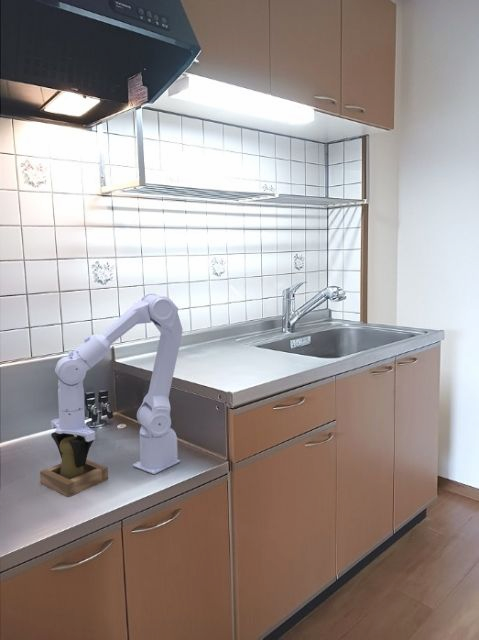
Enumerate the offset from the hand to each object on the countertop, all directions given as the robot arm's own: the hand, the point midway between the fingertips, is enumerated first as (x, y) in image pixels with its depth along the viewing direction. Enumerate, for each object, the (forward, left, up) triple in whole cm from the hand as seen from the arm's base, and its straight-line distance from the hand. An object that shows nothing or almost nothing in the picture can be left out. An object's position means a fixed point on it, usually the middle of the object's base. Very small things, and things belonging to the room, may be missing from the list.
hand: (73, 463), depth 119 cm
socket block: (0, 0, -5) cm, 5 cm away
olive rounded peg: (0, 0, -5) cm, 5 cm away
